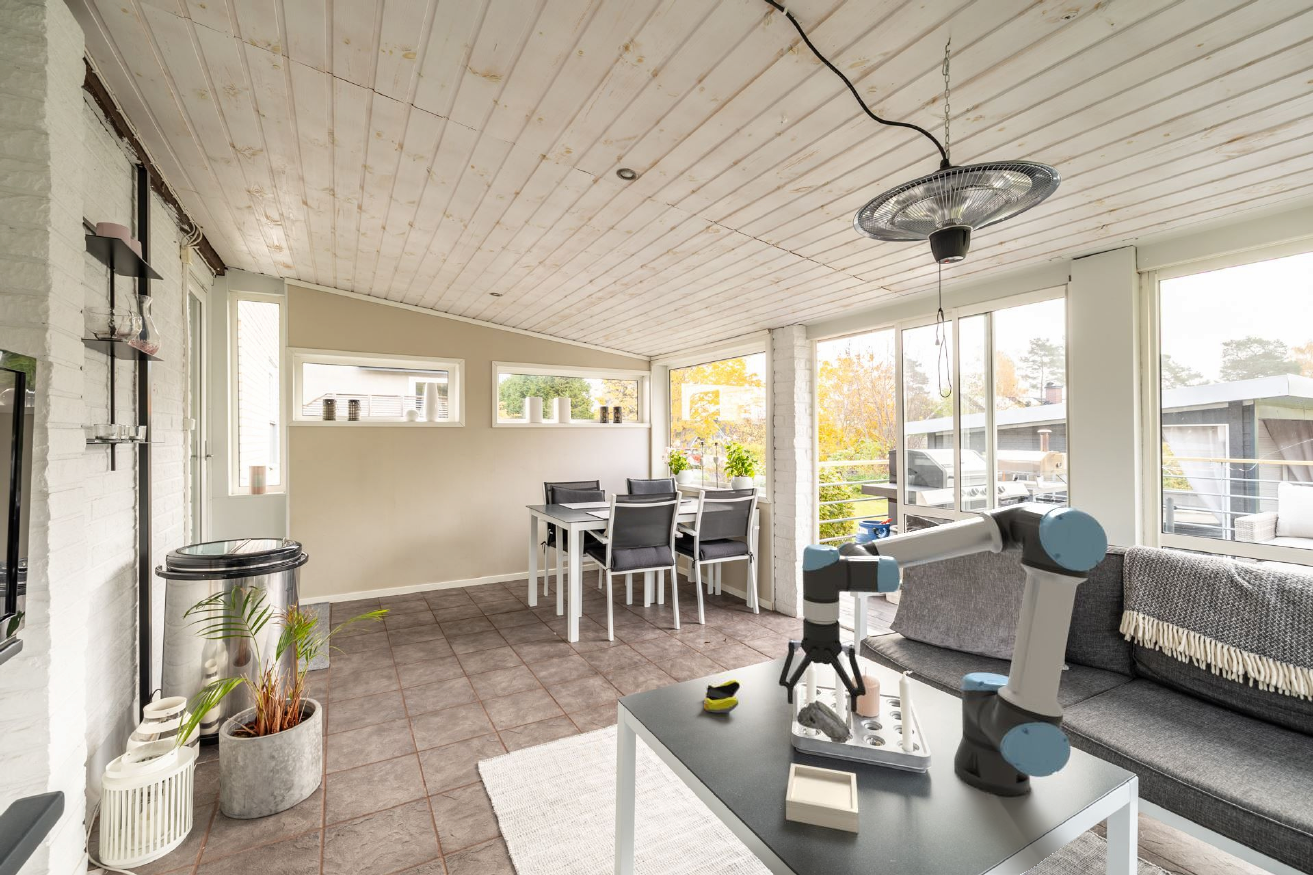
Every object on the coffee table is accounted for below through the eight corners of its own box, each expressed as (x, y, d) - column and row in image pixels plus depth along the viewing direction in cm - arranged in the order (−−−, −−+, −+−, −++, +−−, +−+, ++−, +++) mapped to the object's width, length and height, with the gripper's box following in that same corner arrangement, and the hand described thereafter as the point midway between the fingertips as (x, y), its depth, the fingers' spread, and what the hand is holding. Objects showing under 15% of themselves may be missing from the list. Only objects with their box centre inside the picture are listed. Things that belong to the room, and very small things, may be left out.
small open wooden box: (855, 791, 128) (855, 773, 128) (858, 832, 115) (858, 812, 115) (791, 780, 132) (791, 763, 132) (786, 819, 119) (786, 799, 119)
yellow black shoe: (740, 696, 176) (707, 694, 178) (739, 678, 176) (707, 676, 178) (738, 720, 161) (702, 717, 163) (738, 700, 161) (702, 697, 163)
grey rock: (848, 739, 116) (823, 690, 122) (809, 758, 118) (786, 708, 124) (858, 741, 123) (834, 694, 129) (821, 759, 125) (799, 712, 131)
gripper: (877, 618, 124) (877, 721, 124) (768, 609, 131) (769, 707, 131) (879, 629, 117) (880, 738, 117) (764, 619, 124) (765, 722, 124)
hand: (821, 722), depth 124 cm, fingers closed on grey rock, 10 cm apart
